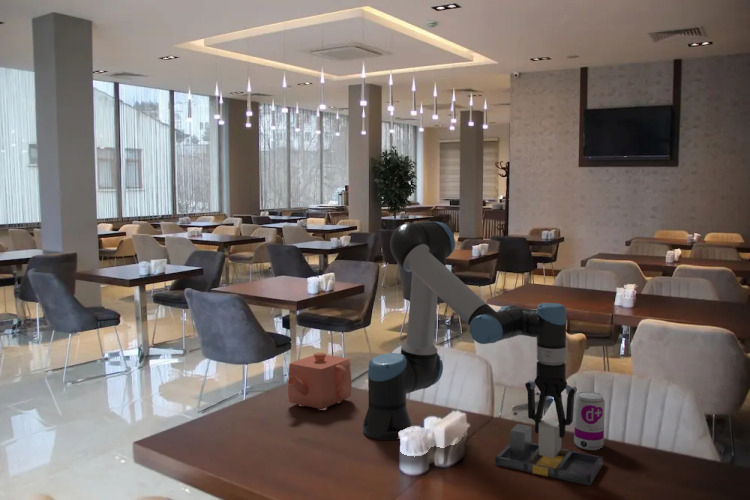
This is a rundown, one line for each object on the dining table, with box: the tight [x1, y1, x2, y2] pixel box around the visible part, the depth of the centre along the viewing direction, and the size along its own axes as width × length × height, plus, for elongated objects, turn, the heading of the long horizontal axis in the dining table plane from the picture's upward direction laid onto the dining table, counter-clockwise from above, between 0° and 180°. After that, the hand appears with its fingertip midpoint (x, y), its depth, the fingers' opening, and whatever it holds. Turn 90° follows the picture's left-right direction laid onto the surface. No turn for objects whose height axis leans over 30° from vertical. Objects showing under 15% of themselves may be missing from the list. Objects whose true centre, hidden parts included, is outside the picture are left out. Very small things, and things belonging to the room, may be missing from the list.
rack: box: [494, 423, 604, 487], centre depth 176 cm, size 25×16×9 cm, turn 59°
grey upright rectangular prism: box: [538, 418, 560, 458], centre depth 176 cm, size 4×6×8 cm, turn 149°
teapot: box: [287, 352, 353, 410], centre depth 225 cm, size 25×23×18 cm
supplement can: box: [573, 391, 606, 451], centre depth 189 cm, size 8×8×15 cm
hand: (549, 446), depth 176 cm, fingers closed on grey upright rectangular prism, 4 cm apart
